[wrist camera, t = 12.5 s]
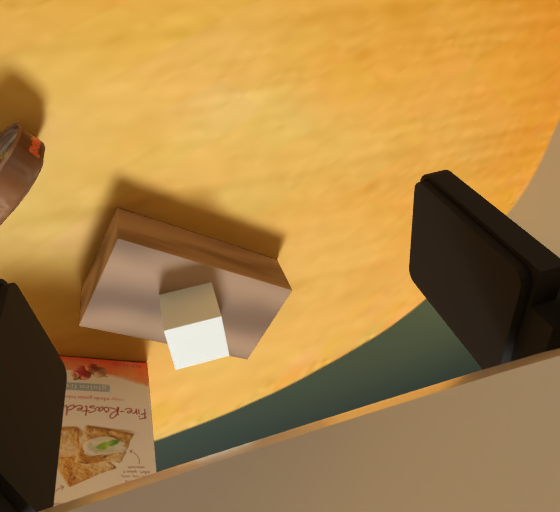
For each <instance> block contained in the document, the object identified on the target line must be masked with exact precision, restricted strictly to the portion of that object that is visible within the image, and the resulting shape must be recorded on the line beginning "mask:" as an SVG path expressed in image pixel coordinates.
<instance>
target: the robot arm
mask: <svg viewBox="0 0 560 512" xmlns="http://www.w3.org/2000/svg"><path fill="white" fill-rule="evenodd" d="M409 271H410V275H411V278H412V280H413V282H414V283H415V284H416V286H417V287H418V288H419V289H420V291H421V292H422V293H423V295H424V296H425V297H426V298H427V300H428V301H429V302H430V303H431V305H432V306H433V307H434V308H435V309H436V311H437V312H438V313H439V315H440V316H441V317H442V319H443V320H444V321H445V322H446V323H447V325H448V326H449V327H450V329H451V330H452V331H453V332H454V334H455V335H456V336H457V337H458V339H459V340H460V341H461V343H462V344H463V345H464V346H465V348H466V349H467V350H468V351H469V353H470V354H471V355H472V356H473V358H474V359H475V360H476V361H477V363H478V364H479V365H480V366H481V368H482V369H483V370H481V371H477V372H474V373H471V374H467V375H464V376H461V377H458V378H455V379H452V380H448V381H445V382H442V383H438V384H435V385H432V386H429V387H425V388H422V389H419V390H416V391H413V392H409V393H406V394H403V395H400V396H396V397H393V398H390V399H387V400H383V401H380V402H377V403H374V404H371V405H367V406H364V407H361V408H358V409H355V410H351V411H348V412H345V413H342V414H339V415H336V416H333V417H329V418H326V419H323V420H320V421H317V422H313V423H310V424H307V425H304V426H301V427H297V428H294V429H292V430H288V431H285V432H282V433H279V434H276V435H272V436H269V437H266V438H263V439H260V440H256V441H254V442H250V443H247V444H244V445H241V446H237V447H234V448H231V449H228V450H225V451H222V452H219V453H216V454H213V455H210V456H206V457H203V458H200V459H197V460H194V461H191V462H188V463H185V464H181V465H178V466H175V467H172V468H169V469H166V470H163V471H160V472H156V473H153V474H150V475H147V476H144V477H141V478H138V479H135V480H132V481H128V482H125V483H122V484H119V485H116V486H113V487H110V488H107V489H104V490H101V491H98V492H95V493H92V494H89V495H86V496H83V497H80V498H77V499H74V500H71V501H68V502H65V503H63V504H60V505H57V506H54V496H55V487H56V477H57V468H58V458H59V449H60V440H61V430H62V421H63V411H64V402H65V393H66V383H67V372H66V368H65V365H64V363H63V361H62V359H61V358H60V356H59V354H58V353H57V351H56V349H55V348H54V346H53V344H52V343H51V341H50V339H49V338H48V336H47V334H46V333H45V331H44V329H43V328H42V326H41V324H40V323H39V321H38V319H37V318H36V316H35V314H34V313H33V311H32V309H31V308H30V306H29V304H28V302H27V301H26V299H25V297H24V296H23V294H22V292H21V291H20V289H19V288H18V286H17V285H16V284H15V283H9V284H8V283H7V282H6V281H5V280H3V279H0V512H560V258H559V257H557V256H556V255H555V254H554V253H552V252H551V251H550V250H549V249H547V248H546V247H545V246H544V245H542V244H541V243H540V242H539V241H537V240H536V239H535V238H534V237H532V236H531V235H530V234H528V233H527V232H526V231H525V230H523V229H522V228H521V227H520V226H518V225H517V224H516V223H515V222H513V221H512V220H511V219H509V218H508V217H507V216H506V215H505V214H503V213H502V212H501V211H499V210H498V209H497V208H496V207H494V206H493V205H492V204H491V203H489V202H488V201H487V200H486V199H484V198H483V197H482V196H481V195H479V194H478V193H477V192H476V191H474V190H473V189H472V188H470V187H469V186H468V185H467V184H465V183H464V182H463V181H462V180H460V179H459V178H458V177H457V176H455V175H454V174H453V173H452V172H450V171H448V170H442V171H438V172H434V173H430V174H426V175H424V176H422V178H421V181H420V182H418V183H417V184H416V185H415V191H414V205H413V220H412V234H411V249H410V263H409ZM53 506H54V507H53Z"/></svg>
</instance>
